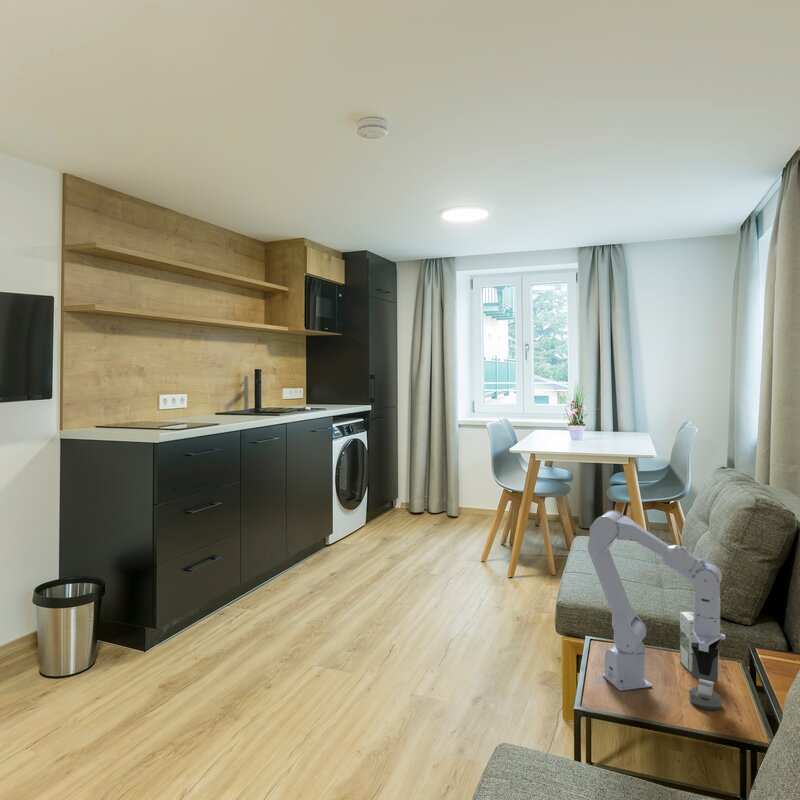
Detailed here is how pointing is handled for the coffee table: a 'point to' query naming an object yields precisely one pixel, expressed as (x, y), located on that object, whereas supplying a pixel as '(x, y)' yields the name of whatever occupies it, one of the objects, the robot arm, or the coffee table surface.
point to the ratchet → (705, 696)
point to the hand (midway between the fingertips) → (705, 669)
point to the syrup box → (686, 639)
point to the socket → (714, 669)
